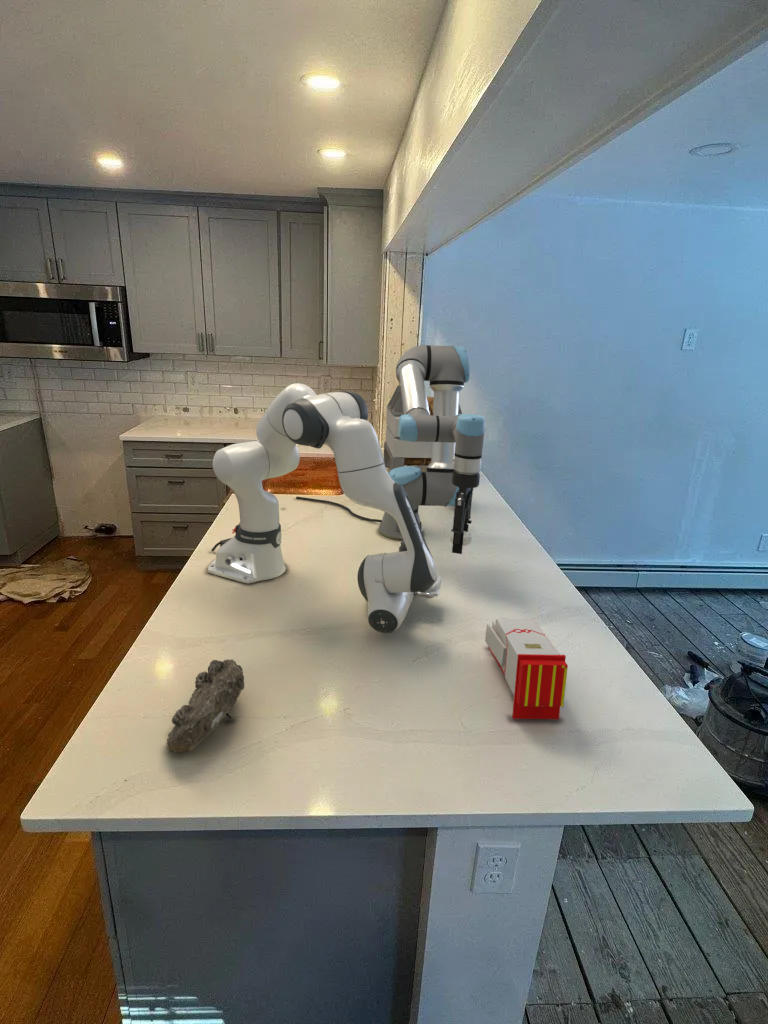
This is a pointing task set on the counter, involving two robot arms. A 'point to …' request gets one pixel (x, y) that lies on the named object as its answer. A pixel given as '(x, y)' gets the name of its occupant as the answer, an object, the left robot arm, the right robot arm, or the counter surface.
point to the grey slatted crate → (404, 451)
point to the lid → (466, 538)
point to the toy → (529, 667)
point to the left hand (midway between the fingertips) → (407, 569)
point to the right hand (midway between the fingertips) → (459, 548)
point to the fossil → (206, 705)
